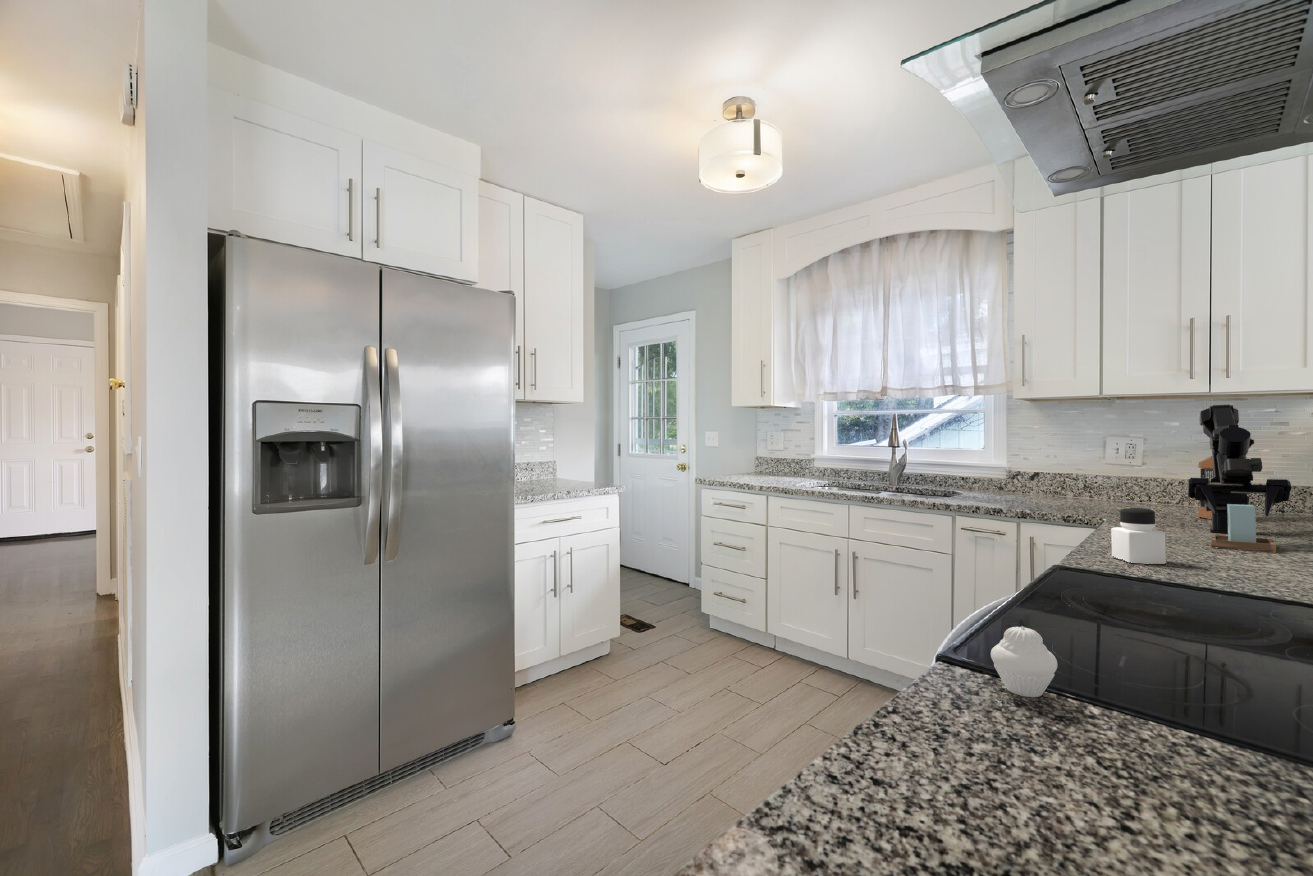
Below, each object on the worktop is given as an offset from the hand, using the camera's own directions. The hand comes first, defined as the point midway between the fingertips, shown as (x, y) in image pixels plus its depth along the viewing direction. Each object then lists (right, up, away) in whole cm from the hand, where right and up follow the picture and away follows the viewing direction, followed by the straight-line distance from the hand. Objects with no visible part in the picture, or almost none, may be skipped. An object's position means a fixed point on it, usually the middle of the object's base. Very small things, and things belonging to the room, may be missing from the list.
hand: (1241, 514), depth 146 cm
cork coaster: (+10, -8, +12) cm, 18 cm away
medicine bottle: (-40, -9, -16) cm, 44 cm away
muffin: (-108, -8, -84) cm, 137 cm away
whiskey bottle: (+47, -9, +53) cm, 72 cm away
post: (0, -8, 0) cm, 8 cm away
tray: (0, -8, 0) cm, 8 cm away
